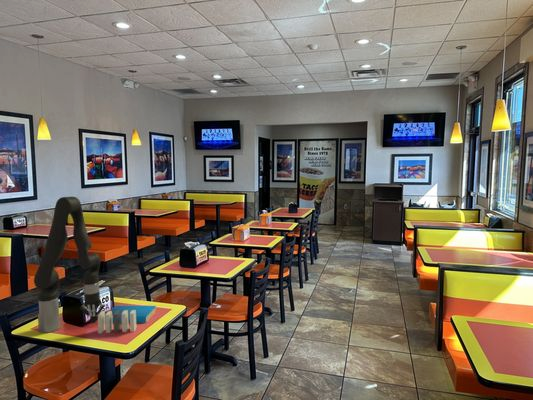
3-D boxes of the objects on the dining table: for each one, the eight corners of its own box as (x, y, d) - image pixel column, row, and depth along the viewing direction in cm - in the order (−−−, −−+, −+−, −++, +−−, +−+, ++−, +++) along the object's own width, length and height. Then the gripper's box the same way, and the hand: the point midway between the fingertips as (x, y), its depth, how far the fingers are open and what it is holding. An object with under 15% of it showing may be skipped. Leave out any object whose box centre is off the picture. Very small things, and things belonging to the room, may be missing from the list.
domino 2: (106, 332, 198) (105, 314, 197) (109, 328, 203) (108, 311, 202) (109, 332, 199) (109, 314, 198) (112, 328, 203) (111, 311, 203)
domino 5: (130, 331, 200) (129, 313, 199) (132, 327, 204) (132, 310, 204) (134, 331, 200) (133, 313, 199) (136, 327, 205) (135, 309, 204)
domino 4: (122, 332, 199) (121, 314, 198) (124, 328, 204) (124, 310, 203) (126, 331, 199) (125, 313, 198) (128, 327, 204) (127, 310, 203)
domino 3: (114, 332, 199) (113, 314, 198) (117, 328, 204) (116, 310, 203) (118, 332, 199) (117, 314, 198) (120, 328, 204) (119, 310, 203)
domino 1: (97, 333, 198) (97, 315, 197) (101, 329, 203) (101, 311, 202) (101, 333, 198) (101, 315, 197) (104, 329, 203) (104, 311, 202)
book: (115, 305, 228) (155, 304, 227) (116, 312, 229) (156, 311, 228) (102, 316, 211) (146, 316, 210) (103, 324, 211) (146, 323, 211)
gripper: (106, 288, 202) (108, 319, 204) (81, 289, 201) (83, 320, 203) (102, 293, 195) (104, 324, 196) (75, 294, 194) (77, 326, 195)
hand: (93, 322), depth 200 cm, fingers closed
